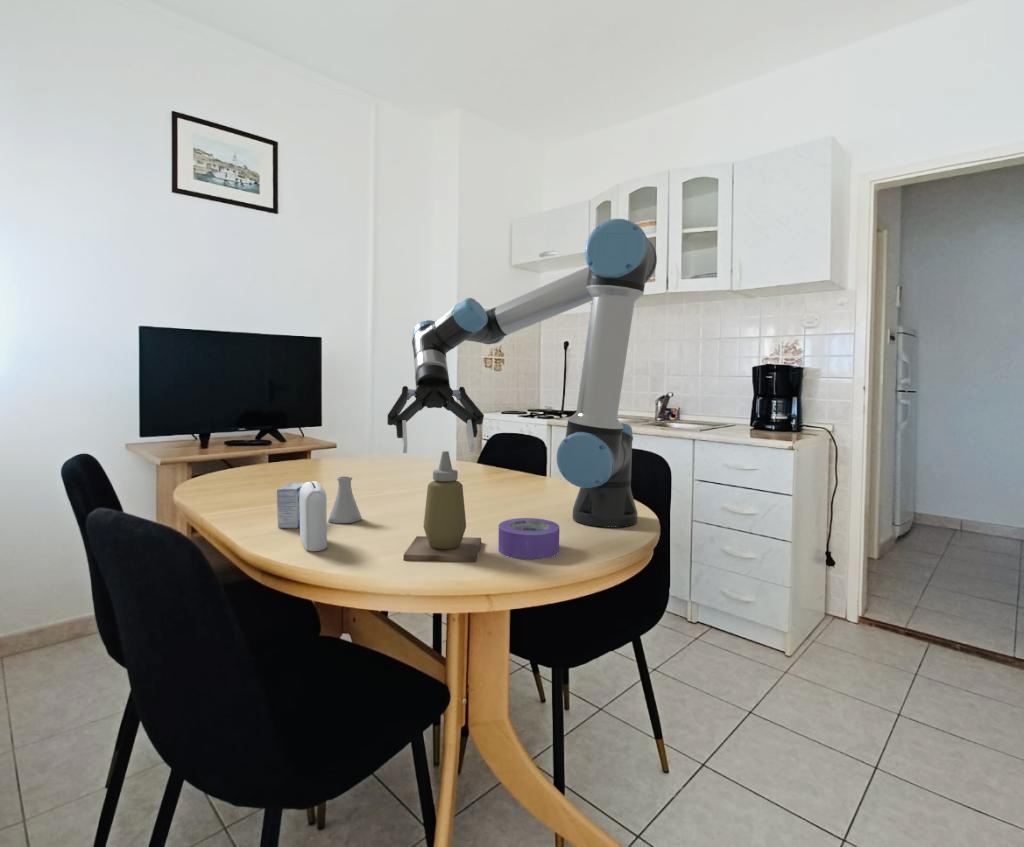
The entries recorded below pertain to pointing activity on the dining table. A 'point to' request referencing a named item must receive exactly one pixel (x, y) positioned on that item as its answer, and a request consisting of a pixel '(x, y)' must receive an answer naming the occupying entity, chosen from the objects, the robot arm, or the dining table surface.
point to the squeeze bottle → (445, 507)
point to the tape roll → (528, 538)
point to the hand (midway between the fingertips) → (439, 448)
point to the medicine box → (289, 506)
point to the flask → (344, 503)
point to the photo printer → (313, 516)
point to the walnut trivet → (443, 551)
